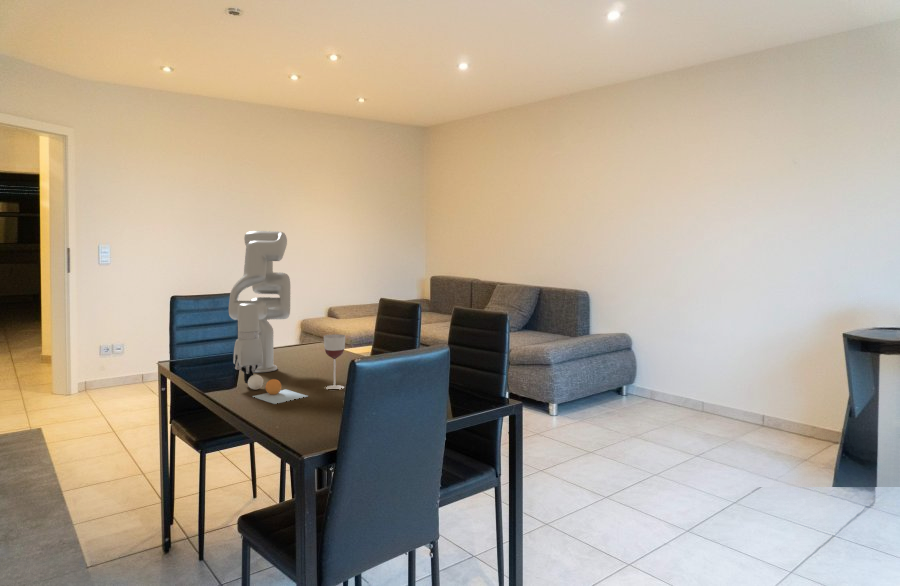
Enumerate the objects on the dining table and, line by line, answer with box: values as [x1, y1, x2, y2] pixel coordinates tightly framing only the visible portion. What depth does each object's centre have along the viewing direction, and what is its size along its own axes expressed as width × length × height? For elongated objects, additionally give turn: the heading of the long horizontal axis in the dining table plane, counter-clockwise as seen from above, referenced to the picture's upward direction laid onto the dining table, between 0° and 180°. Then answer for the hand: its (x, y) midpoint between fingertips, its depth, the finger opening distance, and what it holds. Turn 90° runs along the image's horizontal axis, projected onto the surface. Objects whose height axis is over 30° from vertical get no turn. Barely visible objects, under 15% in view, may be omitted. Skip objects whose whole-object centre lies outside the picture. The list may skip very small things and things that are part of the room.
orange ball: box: [265, 378, 282, 395], centre depth 211 cm, size 6×6×6 cm
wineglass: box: [323, 333, 346, 390], centre depth 222 cm, size 8×9×20 cm
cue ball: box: [247, 374, 264, 391], centre depth 217 cm, size 6×6×6 cm
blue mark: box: [252, 389, 309, 405], centre depth 208 cm, size 14×14×1 cm
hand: (248, 382), depth 221 cm, fingers closed
